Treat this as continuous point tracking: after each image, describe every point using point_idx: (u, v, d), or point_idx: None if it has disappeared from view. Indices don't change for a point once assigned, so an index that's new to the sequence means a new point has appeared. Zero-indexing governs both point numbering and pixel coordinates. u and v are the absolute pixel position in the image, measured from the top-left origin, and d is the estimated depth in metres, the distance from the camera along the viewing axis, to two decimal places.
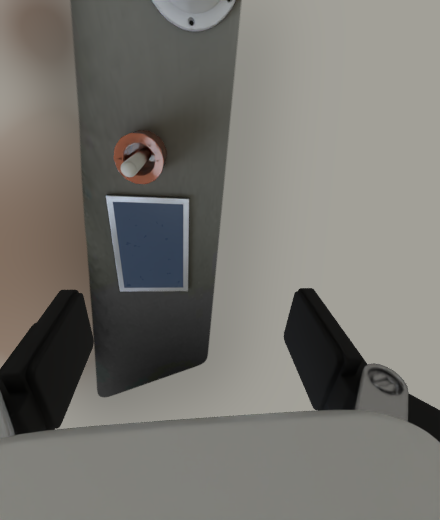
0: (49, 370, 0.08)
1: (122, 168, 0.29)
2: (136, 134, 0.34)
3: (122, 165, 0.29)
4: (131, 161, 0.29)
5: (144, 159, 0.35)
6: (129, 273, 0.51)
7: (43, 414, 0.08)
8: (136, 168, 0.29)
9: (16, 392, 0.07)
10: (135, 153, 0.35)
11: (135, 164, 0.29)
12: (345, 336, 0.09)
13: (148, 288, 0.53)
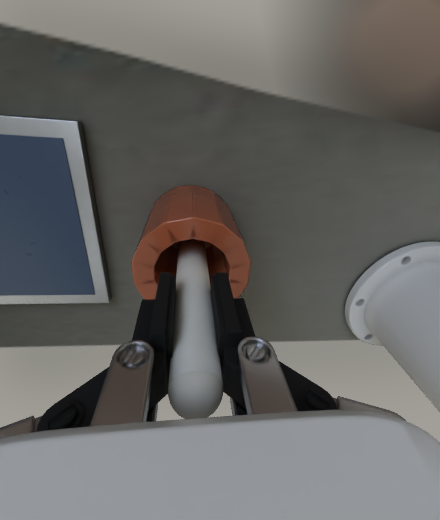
0: (172, 335, 0.09)
1: (202, 397, 0.08)
2: (247, 272, 0.15)
3: (211, 391, 0.08)
4: None
5: None
6: None
7: (168, 371, 0.09)
8: None
9: (158, 349, 0.09)
10: (207, 271, 0.14)
11: None
12: (235, 313, 0.09)
13: None
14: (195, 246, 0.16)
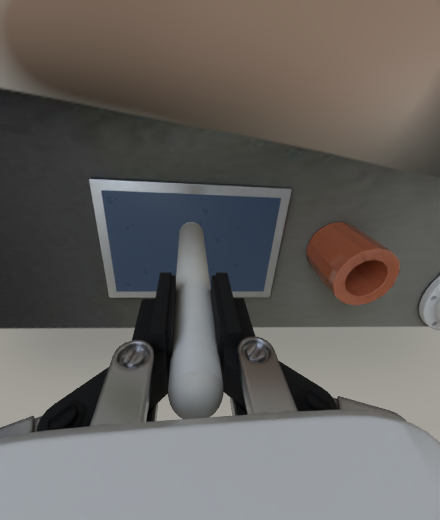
0: (172, 335, 0.09)
1: (202, 398, 0.08)
2: (395, 278, 0.26)
3: (211, 392, 0.08)
4: None
5: None
6: (139, 205, 0.26)
7: (168, 371, 0.09)
8: None
9: (158, 349, 0.09)
10: (207, 271, 0.14)
11: None
12: (235, 313, 0.09)
13: (105, 235, 0.27)
14: (195, 246, 0.16)
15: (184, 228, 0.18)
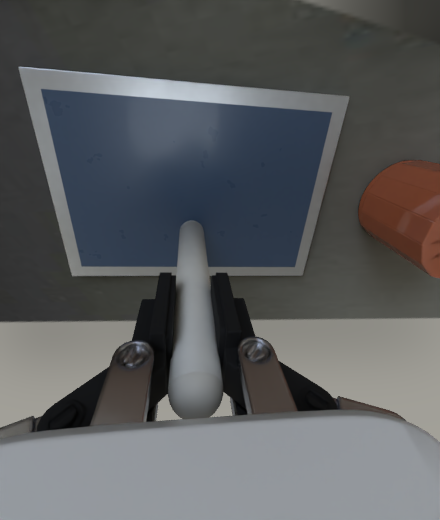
0: (172, 335, 0.09)
1: (202, 398, 0.08)
2: None
3: (212, 393, 0.08)
4: None
5: None
6: (107, 120, 0.16)
7: (168, 371, 0.09)
8: None
9: (158, 349, 0.09)
10: (208, 271, 0.14)
11: None
12: (235, 313, 0.09)
13: (56, 174, 0.17)
14: (196, 245, 0.16)
15: (185, 226, 0.18)
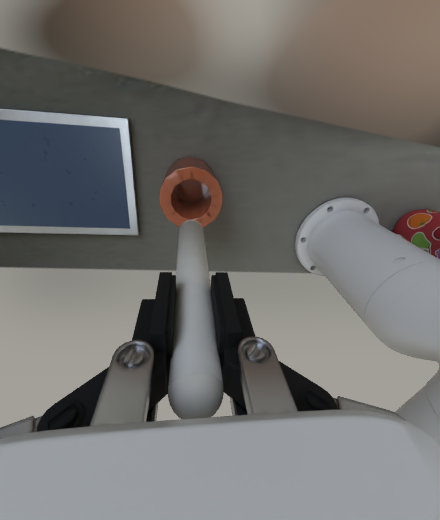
0: (172, 335, 0.09)
1: (202, 399, 0.08)
2: (221, 200, 0.27)
3: (212, 393, 0.08)
4: None
5: None
6: None
7: (168, 371, 0.09)
8: None
9: (158, 349, 0.09)
10: (208, 271, 0.14)
11: None
12: (235, 313, 0.09)
13: None
14: (196, 245, 0.15)
15: (184, 226, 0.18)
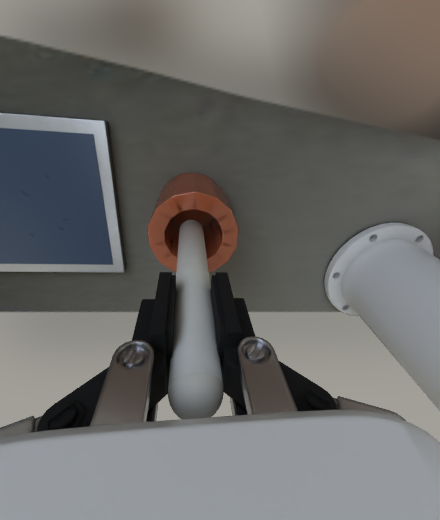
0: (172, 335, 0.09)
1: (202, 399, 0.08)
2: (236, 237, 0.19)
3: (212, 393, 0.08)
4: None
5: None
6: None
7: (168, 371, 0.09)
8: None
9: (157, 349, 0.09)
10: (208, 271, 0.14)
11: None
12: (235, 313, 0.09)
13: None
14: (196, 245, 0.15)
15: (184, 226, 0.18)
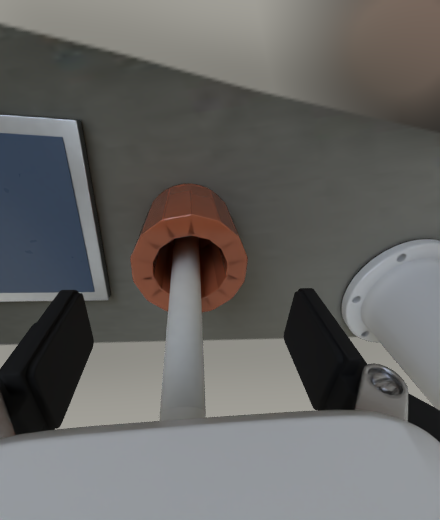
0: (49, 370, 0.08)
1: None
2: (244, 269, 0.15)
3: None
4: None
5: None
6: None
7: (43, 414, 0.08)
8: None
9: (16, 392, 0.07)
10: (199, 284, 0.15)
11: None
12: (345, 336, 0.09)
13: None
14: (189, 255, 0.16)
15: None
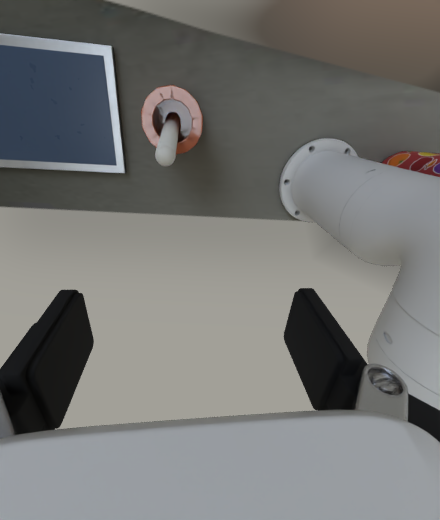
0: (49, 370, 0.08)
1: (166, 152, 0.23)
2: (201, 123, 0.28)
3: (169, 151, 0.23)
4: (174, 159, 0.24)
5: None
6: None
7: (43, 414, 0.08)
8: None
9: (16, 392, 0.07)
10: (177, 131, 0.28)
11: None
12: (345, 336, 0.09)
13: None
14: (172, 120, 0.29)
15: (168, 114, 0.32)
